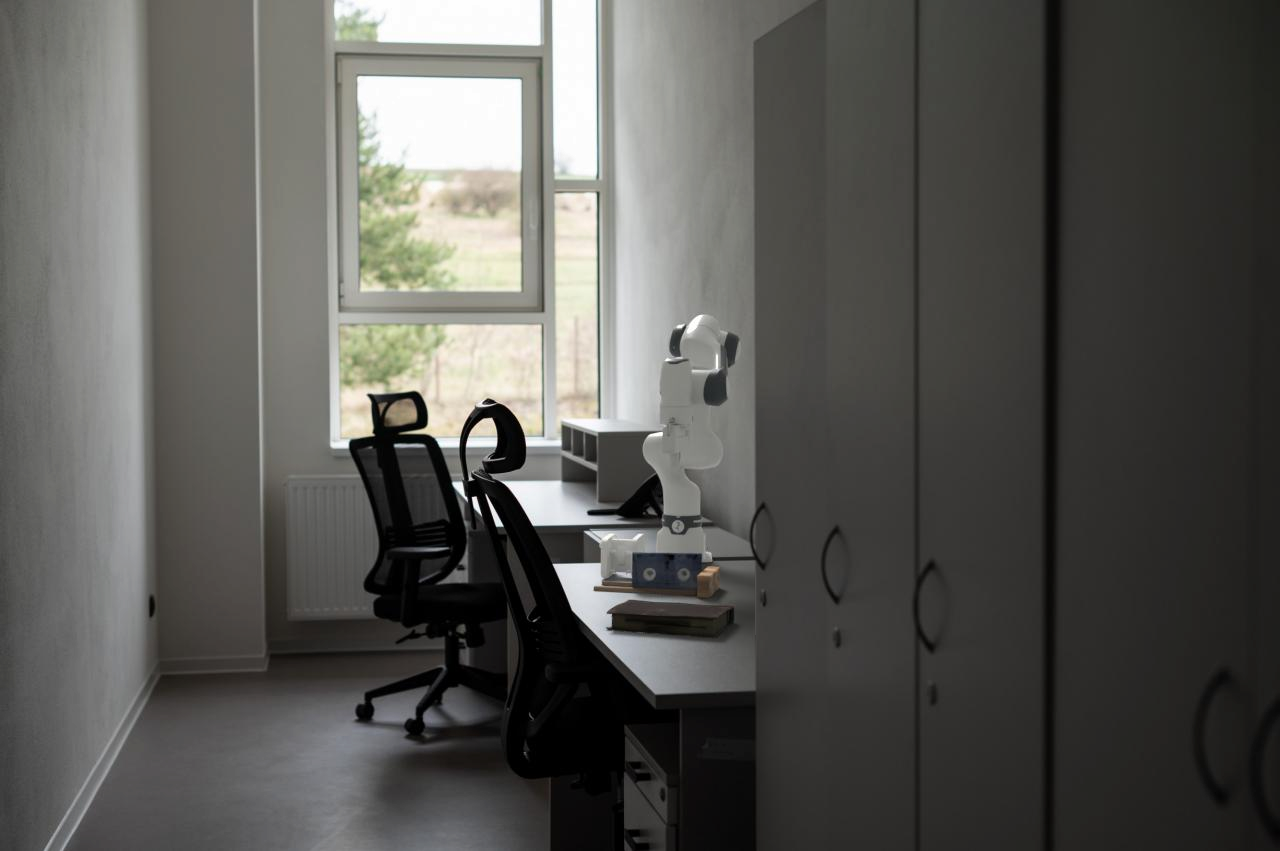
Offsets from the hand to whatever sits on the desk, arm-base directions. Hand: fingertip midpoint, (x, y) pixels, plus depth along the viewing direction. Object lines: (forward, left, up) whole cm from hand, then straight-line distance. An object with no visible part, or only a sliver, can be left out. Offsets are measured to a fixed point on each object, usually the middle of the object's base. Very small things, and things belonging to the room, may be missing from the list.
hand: (675, 468), depth 341 cm
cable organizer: (-6, -16, -31) cm, 36 cm away
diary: (+57, +11, -32) cm, 66 cm away
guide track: (+12, -2, -31) cm, 33 cm away
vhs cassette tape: (+12, 0, -31) cm, 34 cm away
